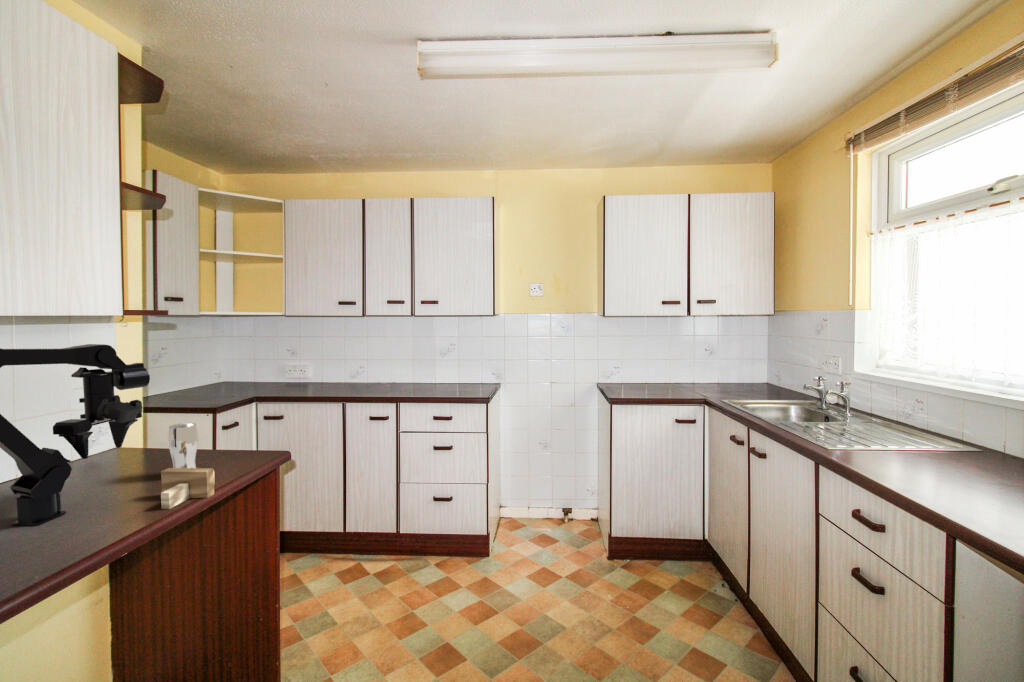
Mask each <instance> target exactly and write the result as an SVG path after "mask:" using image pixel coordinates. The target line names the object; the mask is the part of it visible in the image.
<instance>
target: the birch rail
mask: <svg viewBox="0 0 1024 682" xmlns="http://www.w3.org/2000/svg"><path fill="white" fill-rule="evenodd" d="M213 476H214V485H216V482H215V480H216V479H215V470H214V469H213ZM189 499H191V498H190V489H189V487H188V483H180V484H178V485H176V486H174V487H172V488H170V489H168V490H166V491H164V492H162V491H161V493H160V500H161V501H160V503H161V510H170V509H173V508H174V507H175V506H178V505H180V504H181V503H183V502H185V501H187V500H189Z"/></svg>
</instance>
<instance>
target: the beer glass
mask: <svg viewBox="0 0 1024 682" xmlns="http://www.w3.org/2000/svg"><path fill="white" fill-rule="evenodd" d="M167 436H168V438H167V439H168V441H167V442H168V448H169V452H170V456H171V461H172V468H197V465H196V457H197V456H196V455H197V450H198V442H199V441H198V440H199V439H198V428H197V423H194V422H184V423H177V424H173V425H170V426H168V435H167Z"/></svg>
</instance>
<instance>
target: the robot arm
mask: <svg viewBox="0 0 1024 682" xmlns="http://www.w3.org/2000/svg"><path fill="white" fill-rule="evenodd" d="M58 364H59V365H61V364H62V365H65V364H66V365H73V366H82V367H79V368H78V370H76V371H74V373H71V376H70V377H72V378H76V379H77V378H80V379H81V378H82V384H83V385H82V387H83V388H82V389H83V397H80V398H79V400H78V401H79V402H78V403H80V404H81V403H83V404H84V406H83V407H84V413H83V414H80V416H79V418H80V419H79V418H78V419H77V418H71V419H66V420H61V421H57V422H56V423H55V424H54V425H53V426H52V435H58V437H59V438H61V437H62V438H63V439H65V440H66V441H67V442H68V443H69V444H70V445H71V446H72V448H73V449H74V450H75V452H76V453H77V454H78V455H79V456H80V458H81V459H82V460H84V459H85V460H86V459H88V458H89V438H90V437H91V436H92V434H93V433H94V431H90V430H91V429H93V426H97V425H101V424H105V423H108V425H109V429H110V432H111V436H112V440H113V444H114V446H115V447H116V448H117V449H120V448H122V446H123V444H124V440H125V438H126V435H127V432H128V430H129V429H130V427H131V426H132V425H133V424H134V423H135V422H138V420H139V418H143V415H142V412H143V404H142V400H140V399H133V400H130V401H129V402H128V401H126V402H123V401H121V396H119V394H118V395H117V394H115V388H116V389H117V390H119V391H123V390H130V389H131V390H132V389H138V388H147V386H148V385H149V383H150V380H151V376H150V374H149V371H148V370H147V368H145V365H144V364H145V363H143V362H134V363H129V364H126V363H125V362H124V361H123V360H122V359H121V358H120V357H119V356H118V355H117V351H116V349H115V348H114V347H112V345H109V344H96V343H95V344H94V343H93V344H92V343H89V344H88V343H87V344H81V345H74V346H70V347H64V348H63V347H62V348H0V369H1V368H3V367H4V366H27V365H28V366H30V365H31V366H32V365H35V366H36V365H38V366H39V365H58ZM87 367H96V369H95V368H94V369H88V368H87ZM106 370H111V371H106ZM0 449H1V450H2V451H4V452H5V453H6V454H7V455H8V456H9V457H11V458H12V459H13V460H14V461H15V463H16V466H17V469H18V471H19V472H20V474H21V475H20V477H18V478H17V480H15V482H13V484H12V485H10V486H9V488H10V490H11V492H12V493H13V494H14V495H16V496H17V495H18V496H19V497H17V498H15V499H16V509H17V510H16V513H17V515H16V516H17V520H15V521H11V522H10V523H11V525H12V526H40V525H42V524H44V523H47V522H49V521H51V520H53V519H55V518H59V517H60V516H62V515H65V514H67V510H62V504H61V501H62V500H61V492H62V490H63V488H64V486H65V483H66V481H67V479H69V477H70V475H71V473H72V470H73V468H72V466H71V465H70V463H71V462H72V460H70V459H67V458H65V457H64V456H63V453H62V452H61V451H60V450H58V449H54V448H49V447H42V448H39V447H38V445H36V444H35V443H34V442H33V441H31V440H30V439H29V438H28V437H27V436H26V435H25V434H24V433H22V431H20V429H18V428H17V427H16V426H15V425H13V423H11V422H10V421H9V420H8V419H7V418H5V417H4V416H3V414H1V413H0Z"/></svg>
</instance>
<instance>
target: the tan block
mask: <svg viewBox="0 0 1024 682" xmlns="http://www.w3.org/2000/svg"><path fill="white" fill-rule="evenodd" d="M213 470H214V468H211V467H209V468H207V467H206V468H205V467H204V468H203V467H201V468H200V467H196V468H173V467H168V468H165V469H163V470H161V471H160V476H161V493H162V492H164V491H166V490H168V489H170V488H172V487H174V486H176V485H178V484H180V483H188V487H189V489H190V498H189V499H209V498H210V497H212V496H214V495H215V484H214V478H215V475H214V476H213Z"/></svg>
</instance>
